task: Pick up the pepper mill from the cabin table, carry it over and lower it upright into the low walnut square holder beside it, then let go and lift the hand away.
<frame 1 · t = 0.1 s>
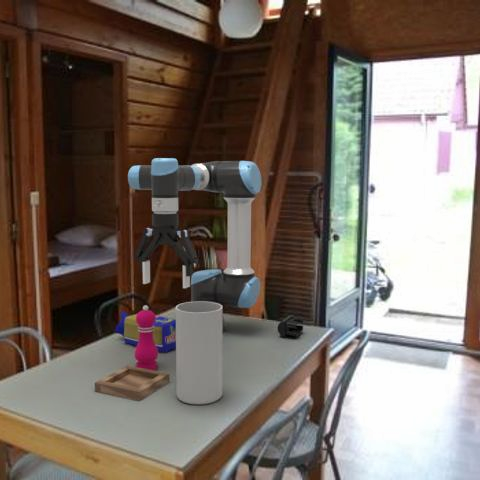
hand: (166, 285, 160), 28 cm above the table, tool pointing down, fingers open, 13 cm apart
walnut holder: (133, 386, 156), on the table
pepper mill: (146, 368, 171), on the table
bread: (148, 345, 195), on the table
cylinder vase: (199, 396, 150), on the table
end cap: (290, 336, 206), on the table
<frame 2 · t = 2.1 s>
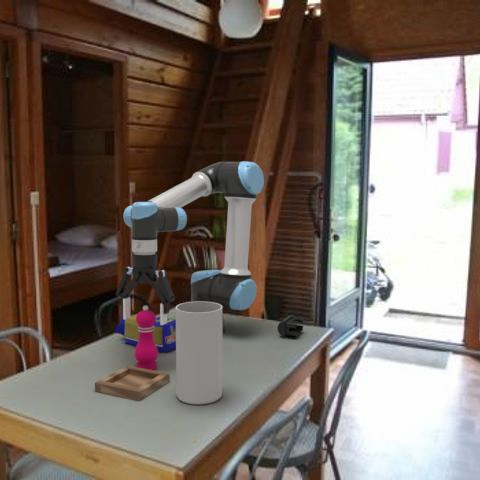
hand: (145, 321, 169), 15 cm above the table, tool pointing down, fingers open, 13 cm apart
nothing on the table moved.
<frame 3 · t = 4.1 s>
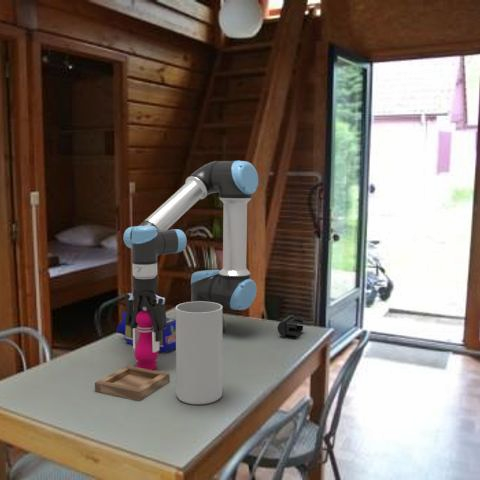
hand: (146, 349, 170), 6 cm above the table, tool pointing down, fingers closed on pepper mill, 6 cm apart
pepper mill: (146, 368, 171), on the table, touching gripper
everything else where it was.
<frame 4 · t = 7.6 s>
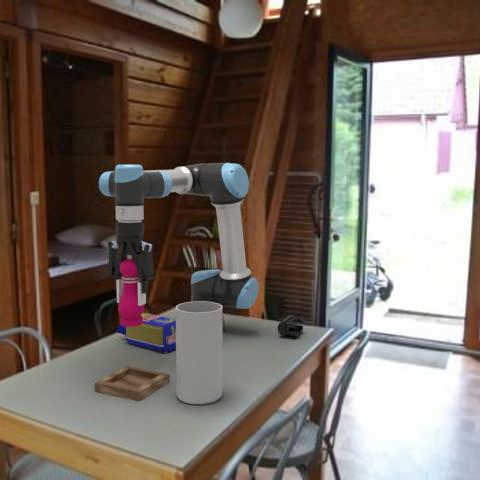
hand: (131, 303, 153), 24 cm above the table, tool pointing down, fingers closed on pepper mill, 6 cm apart
pepper mill: (131, 324, 154), point 18 cm above the table, touching gripper
everything else where it was.
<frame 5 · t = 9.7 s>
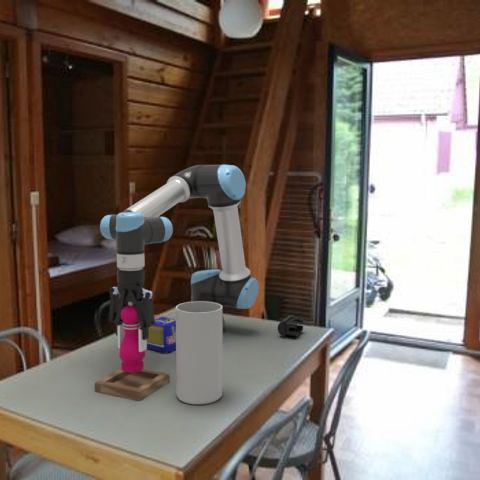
hand: (132, 348, 155), 11 cm above the table, tool pointing down, fingers closed on pepper mill, 6 cm apart
pepper mill: (132, 369, 156), point 5 cm above the table, touching gripper
everything else where it was.
when the fingers open (8 cm above the table, at t = 11.3 s): pepper mill drops 1 cm, resting on walnut holder.
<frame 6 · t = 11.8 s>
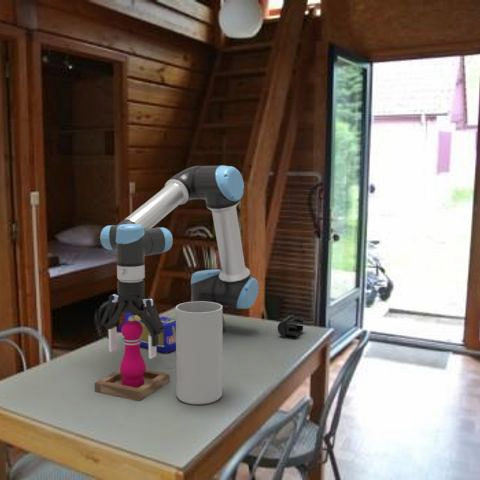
hand: (132, 353, 155), 10 cm above the table, tool pointing down, fingers open, 13 cm apart
pepper mill: (133, 384, 156), point 1 cm above the table, touching walnut holder
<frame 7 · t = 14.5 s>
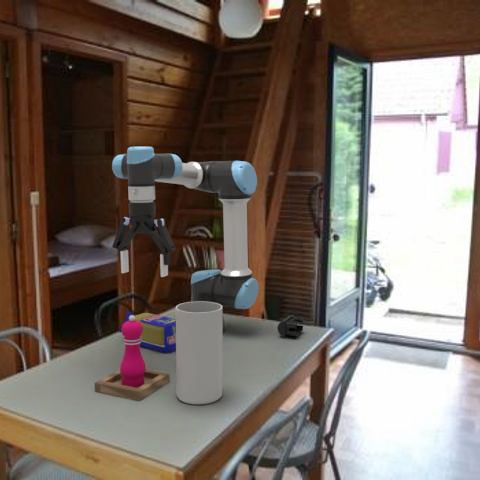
hand: (144, 274, 159), 31 cm above the table, tool pointing down, fingers open, 13 cm apart
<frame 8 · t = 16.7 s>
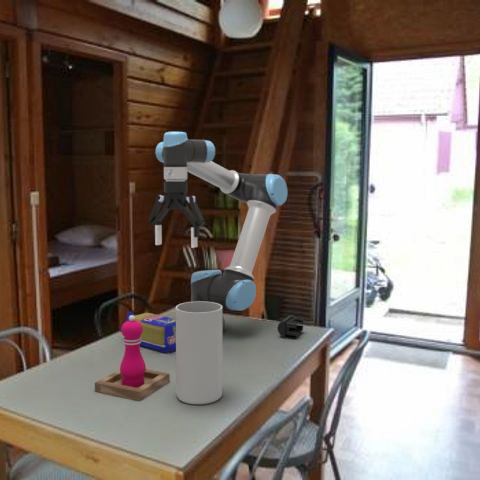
hand: (176, 246, 179), 37 cm above the table, tool pointing down, fingers open, 13 cm apart
at the end: pepper mill 0.0 cm off-centre on the walnut holder, point 0.6 cm above the walnut holder's base; pepper mill tilted 0°; the gripper is holding nothing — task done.
